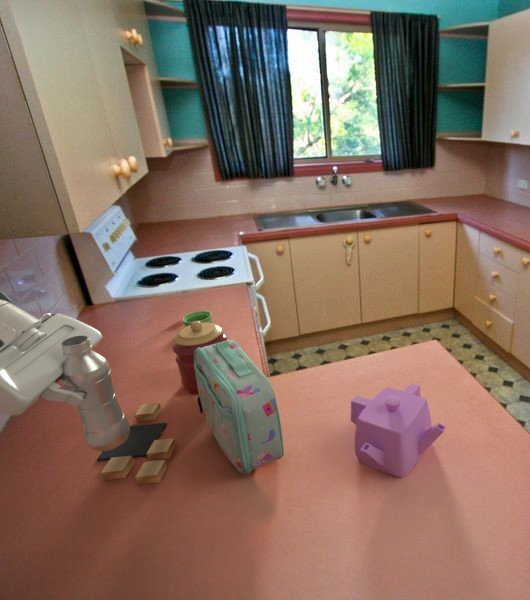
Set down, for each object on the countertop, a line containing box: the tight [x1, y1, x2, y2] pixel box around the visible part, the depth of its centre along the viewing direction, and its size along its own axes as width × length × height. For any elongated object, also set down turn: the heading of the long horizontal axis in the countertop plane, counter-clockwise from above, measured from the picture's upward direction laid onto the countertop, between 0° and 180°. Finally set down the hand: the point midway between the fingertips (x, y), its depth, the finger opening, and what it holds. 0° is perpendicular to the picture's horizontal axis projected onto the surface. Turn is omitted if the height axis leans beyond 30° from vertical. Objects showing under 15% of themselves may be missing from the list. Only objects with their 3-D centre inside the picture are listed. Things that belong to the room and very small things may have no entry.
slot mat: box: [96, 422, 167, 462], centre depth 93 cm, size 10×10×1 cm
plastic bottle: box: [60, 335, 131, 452], centre depth 69 cm, size 6×7×20 cm
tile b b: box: [146, 437, 177, 461], centre depth 89 cm, size 4×4×2 cm
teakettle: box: [350, 383, 447, 478], centre depth 86 cm, size 17×17×12 cm
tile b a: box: [100, 456, 135, 481], centre depth 85 cm, size 4×4×2 cm
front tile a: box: [134, 459, 168, 486], centre depth 83 cm, size 4×4×2 cm
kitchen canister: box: [171, 321, 228, 395], centre depth 110 cm, size 13×13×18 cm
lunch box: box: [194, 339, 284, 475], centre depth 88 cm, size 27×10×21 cm, turn 40°
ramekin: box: [181, 310, 213, 328], centre depth 142 cm, size 9×9×4 cm
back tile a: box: [134, 402, 162, 423], centre depth 100 cm, size 4×4×2 cm
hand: (95, 387), depth 68 cm, fingers closed on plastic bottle, 6 cm apart
